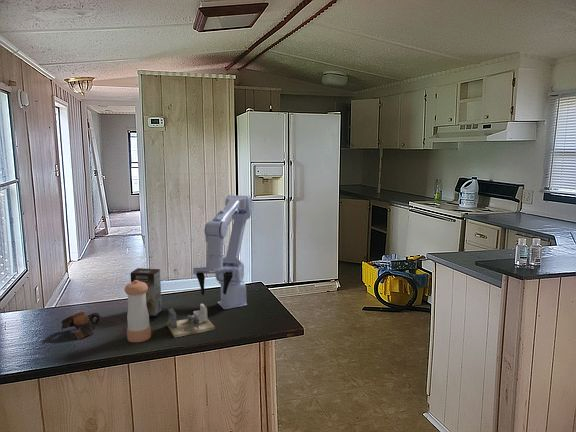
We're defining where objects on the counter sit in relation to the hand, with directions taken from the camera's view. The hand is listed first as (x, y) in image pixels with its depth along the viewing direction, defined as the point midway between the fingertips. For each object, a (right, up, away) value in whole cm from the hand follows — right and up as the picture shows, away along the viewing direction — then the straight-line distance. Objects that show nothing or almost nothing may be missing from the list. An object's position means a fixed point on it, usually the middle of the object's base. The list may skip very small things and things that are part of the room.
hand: (213, 294), depth 153 cm
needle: (-5, -9, -7) cm, 12 cm away
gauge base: (-7, -11, -4) cm, 13 cm away
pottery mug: (-42, -12, -8) cm, 44 cm away
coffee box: (-26, -9, +9) cm, 29 cm away
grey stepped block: (-5, -9, -3) cm, 11 cm away
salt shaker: (-22, -12, -12) cm, 28 cm away
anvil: (-13, -11, -5) cm, 18 cm away
